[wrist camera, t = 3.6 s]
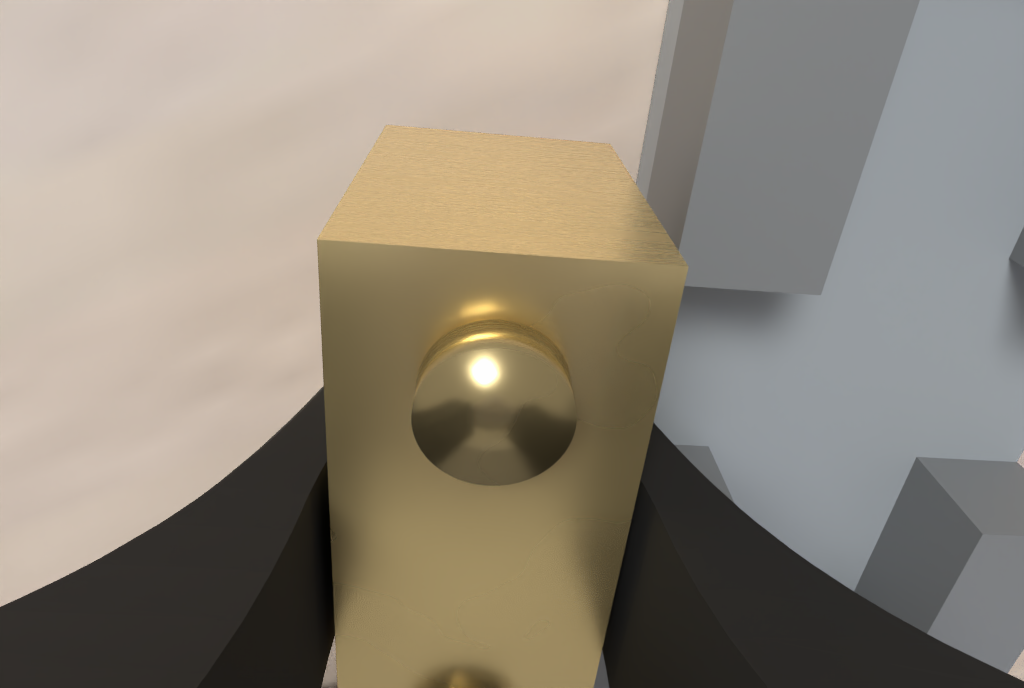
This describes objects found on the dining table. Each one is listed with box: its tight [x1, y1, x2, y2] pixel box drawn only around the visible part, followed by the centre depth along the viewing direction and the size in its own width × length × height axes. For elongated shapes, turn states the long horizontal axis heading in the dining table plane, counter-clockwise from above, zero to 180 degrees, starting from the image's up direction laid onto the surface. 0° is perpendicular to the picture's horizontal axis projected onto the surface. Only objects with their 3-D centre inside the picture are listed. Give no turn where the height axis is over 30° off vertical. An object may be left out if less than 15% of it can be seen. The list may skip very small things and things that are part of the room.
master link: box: [317, 125, 689, 688], centre depth 11 cm, size 4×9×6 cm, turn 175°
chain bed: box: [594, 0, 1024, 688], centre depth 14 cm, size 10×20×4 cm, turn 175°
